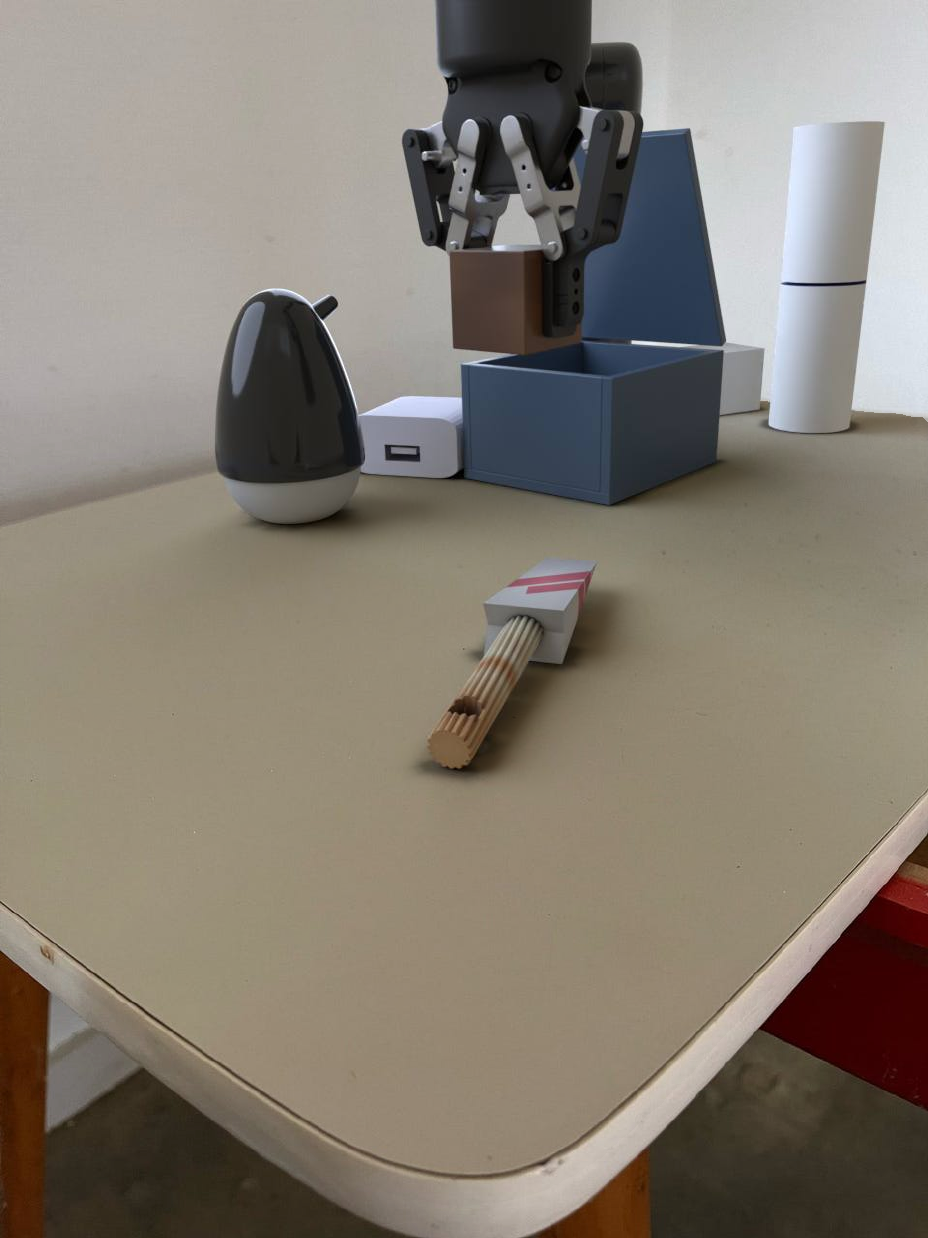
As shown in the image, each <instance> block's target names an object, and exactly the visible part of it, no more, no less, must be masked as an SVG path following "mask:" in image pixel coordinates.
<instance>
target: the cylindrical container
mask: <svg viewBox="0 0 928 1238" xmlns="http://www.w3.org/2000/svg"><path fill="white" fill-rule="evenodd" d="M885 125H886V124H885V121H878V120H874V121H872V120H871V121H869V120H867V121H864V120H863V121H861V120H860V121H839V122H823V123H814V124H813V123H812V124H804V125H797V126H793V129H792V130H793V132H792V143H791V155H790V167H789V177H788V178H789V179H788V189H787V201H786V212H785V213H786V214H785V226H784V237H783V238H784V239H783V248H782V261H781V271H780V272H781V273H780V281H781V283H780V284H779V295H778V296H779V297H778V306H777V307H778V308H777V320H776V329H775V330H776V332H775V342H774V343H775V344H774V354H773V355H774V356H773V367H772V377H771V378H772V380H771V390H770V402H769V412H768V413H769V415H768V426H769V427H771V428H773V429H775V430H778V431H779V430H780V431H785V432H790V433H802V434H829V433H837V432H842V431H846V430H848V429H850V425H851V418H852V417H851V416H852V410H853V409H852V408H853V400H854V391H855V383H856V375H857V365H858V358H859V348H860V340H861V333H862V323H863V314H864V307H865V303H864V302H865V298H866V291H867V289H866V288H867V282H868V281H867V280H868V271H869V264H870V254H871V246H872V238H873V237H872V236H873V230H874V229H873V227H874V220H875V213H876V203H877V192H878V185H879V176H880V169H881V168H880V167H881V158H882V150H883V141H884V133H885V132H884V131H885Z"/></svg>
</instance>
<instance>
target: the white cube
mask: <svg viewBox="0 0 928 1238" xmlns="http://www.w3.org/2000/svg"><path fill="white" fill-rule="evenodd" d="M684 347H685V348H699V349H714V350H724V356H723V371H722V387H721V402H720V416H723V415H731V414H738V413H744V412H753V411H759V410H760V409H761V398H762V387H763V374H764V361H765V347H758V346H751V345H745V344H738V343H731V342H727V341H726V342H725V343H724V345H723V346H707V345H685V346H684Z"/></svg>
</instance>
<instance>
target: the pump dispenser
mask: <svg viewBox="0 0 928 1238" xmlns="http://www.w3.org/2000/svg"><path fill="white" fill-rule="evenodd" d="M338 308H339V301H338V299H337V297H336V296H334V295H332V294H328V295H326V296H324V297H322V298H321V299H320V300H317V301H315V303H313V304H311V303H310V302H309V301H308V300H307V299H306V298H305V297H303V296H302V295H300V294H298V293H296V292H294V291H292V290H288V289H284V288H269V289H265V290H262V291H259V292H257V293H255V294H254V295H252V296H251V297H250V298H248V300H246V301H245V302H244V304H243V305H242V306H241V308H240V309H239V311H238V312H237V315H236V317H235V320H234V321H233V323H232V326H231V329H230V332H229V335H228V338H227V342H226V345H225V349H224V350H225V351H224V354H223V358H222V363H221V368H220V375H219V380H218V385H217V386H218V387H217V393H216V404H215V418H214V419H215V420H214V421H215V422H214V423H215V424H214V452H215V453H214V455H215V465H216V470H217V472H218V473H219V475H220V476H222V477H223V480H224V483H225V487H226V488H227V490H228V492H229V494H230V496H231V498H232V499H233V500H234V501H235V503H236V504H237V505H238V506H239V507H240V508H241V509H242V510H244V512H246V513H247V514H249V515H250V516H252V517H254V518H257V519H258V520H261V521H264V522H268V523H271V524H278V525H279V524H280V525H297V524H298V525H299V524H306V523H312V522H316V521H320V520H323V519H326V518H328V517H330V516H332V515H334V514H335V513H337V512H339V511H340V510H341V509H343V508H344V507H345V506H346V504H348V503H349V501H350V500H351V499H352V497H353V496H354V494H355V492H356V489H357V487H358V484H359V481H360V476H361V472H360V471H361V466H362V465H363V464H364V462H365V447H364V439H363V434H362V429H361V424H360V419H359V415H360V414H359V411H358V406H357V404H356V399H355V395H354V392H353V389H352V385H351V383H350V382H351V381H350V380H349V377H348V374H347V371H346V369H345V366H344V363H343V360H342V358H341V355H340V352H339V351H338V348H337V346H336V344H335V341H334V339H333V337H332V335H331V333H330V331H329V329H328V327H327V325H326V323H325V322H324V321H325V320H326V319H327V318H329V317H330V316H331V315H332V314H333V313H334V312H335V311H336V310H337V309H338Z"/></svg>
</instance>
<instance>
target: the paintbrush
mask: <svg viewBox="0 0 928 1238" xmlns="http://www.w3.org/2000/svg"><path fill="white" fill-rule="evenodd" d="M597 564H598V561H597V560H585V559H584V560H583V559H572V558H571V559H570V558H558V557H557V558H556V557H546V558H545V559H543V560H542V561H541V562H539V563H538V564H536V565H535V566H534V567H532V568H530V569H529V570H528V571H526V572H525V573H524V574H522V575H521V576H520V577H517V579H515V580H514V581H512V582H511V583H509V584H508V585H507V586H505V587H504V588H502V589H501V590H499V591H498V592H496V593H495V594H494V595H492V596H491V597H490V598H488V599H487V600H485V601H484V602H483V609H484V614H485V617H486V621H487V628H486V629H487V631H486V635H485V643H484V650H483V657H482V659H481V661H480V662H479V663H478V665H477V666H476V667H475V669H474V671H473V672H472V673H471V675H470V676H469V677H468V679H467V680H466V682H465V683H464V685H463V687H462V688H461V689H460V691H459V692H458V693H457V695H456V696H455V698H454V699H453V701H452V702H451V704H450V705H449V707H448V708H447V709H446V711H445V712H444V713H443V715H442V717H440V720H439V721H438V722H437V724H436V725H435V727H434V728H433V729H432V730H431V732H430V733H429V735H428V737H427V738H426V741H427V745H426V748H427V750H429V753H428V755H429V757H433V758H434V762H436V763H439V764H440V765H441V767H444V768H446V767H448V769H450V770H453V769H454V768H456V769H462V768H463V767H464V766H468V765H469V764H470V763H471V761H472V759H474V757H475V755H476V753H477V751H478V749H480V746H481V744H482V742H483V741H484V739H485V737H486V735H488V732H489V730H490V729H491V727H492V726H493V723H494V722H495V720H496V718H497V717H498V715H499V713H500V711H501V710H502V708H503V707H504V705H505V703H506V701H507V700H508V698H509V696H510V695H511V693H512V691H513V690H514V688H515V686H516V685H517V682H518V681H519V679H520V677H521V676H522V674H523V672H524V670H525V668H526V667H527V665H528V664H529V661H531V662H538V663H539V662H540V663H547V664H557V665H562V664H564V663H563V662H564V659H565V656H566V653H567V651H568V648H569V645H570V642H571V639H572V636H573V633H574V630H575V628H576V625H577V621H578V619H579V616H580V613H581V610H582V607H583V604H584V602H585V598H586V595H587V593H588V591H589V590H588V589H589V586H590V584H591V581H592V578H593V575H594V572H595V569H596V567H597Z"/></svg>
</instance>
